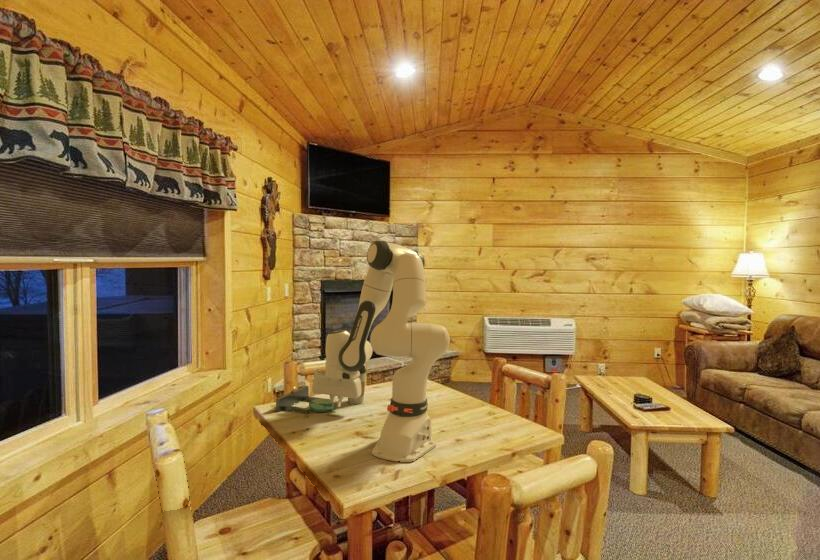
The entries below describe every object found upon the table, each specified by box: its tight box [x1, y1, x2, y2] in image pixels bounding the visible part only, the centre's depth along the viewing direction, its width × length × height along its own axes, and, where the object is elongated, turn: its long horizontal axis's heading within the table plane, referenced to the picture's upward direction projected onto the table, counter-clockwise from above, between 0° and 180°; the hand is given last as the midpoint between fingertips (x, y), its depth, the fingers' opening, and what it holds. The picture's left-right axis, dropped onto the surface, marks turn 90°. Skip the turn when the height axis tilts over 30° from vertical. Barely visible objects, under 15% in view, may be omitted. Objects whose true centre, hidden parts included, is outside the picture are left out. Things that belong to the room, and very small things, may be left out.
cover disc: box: [308, 398, 336, 414], centre depth 179 cm, size 10×10×2 cm
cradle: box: [275, 385, 325, 415], centre depth 182 cm, size 20×13×7 cm, turn 159°
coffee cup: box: [347, 364, 367, 405], centre depth 188 cm, size 8×8×15 cm
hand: (336, 406), depth 177 cm, fingers closed
